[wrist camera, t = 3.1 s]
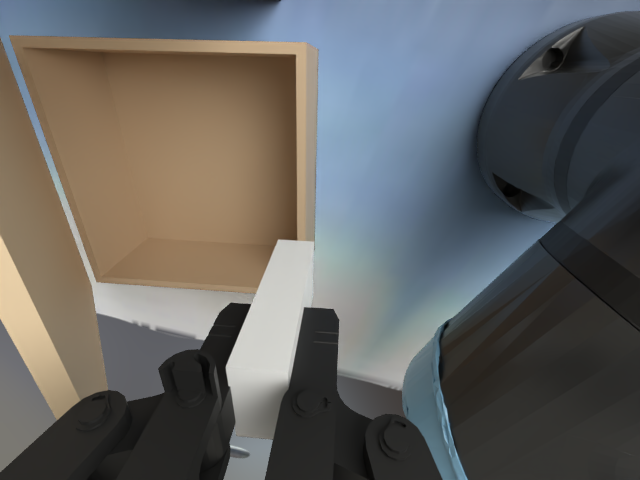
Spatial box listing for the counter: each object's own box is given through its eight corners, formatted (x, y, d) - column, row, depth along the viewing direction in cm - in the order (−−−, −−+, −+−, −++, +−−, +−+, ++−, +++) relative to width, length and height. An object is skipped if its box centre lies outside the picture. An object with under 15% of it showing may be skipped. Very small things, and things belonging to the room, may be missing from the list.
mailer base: (318, 49, 26) (306, 42, 19) (314, 249, 34) (305, 297, 27) (98, 44, 27) (8, 35, 20) (147, 239, 35) (96, 282, 28)
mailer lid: (-130, -33, 6) (-212, -43, 6) (124, 491, 15) (100, 505, 14) (-3, 30, 19) (-23, 29, 19) (91, 285, 28) (78, 289, 27)
